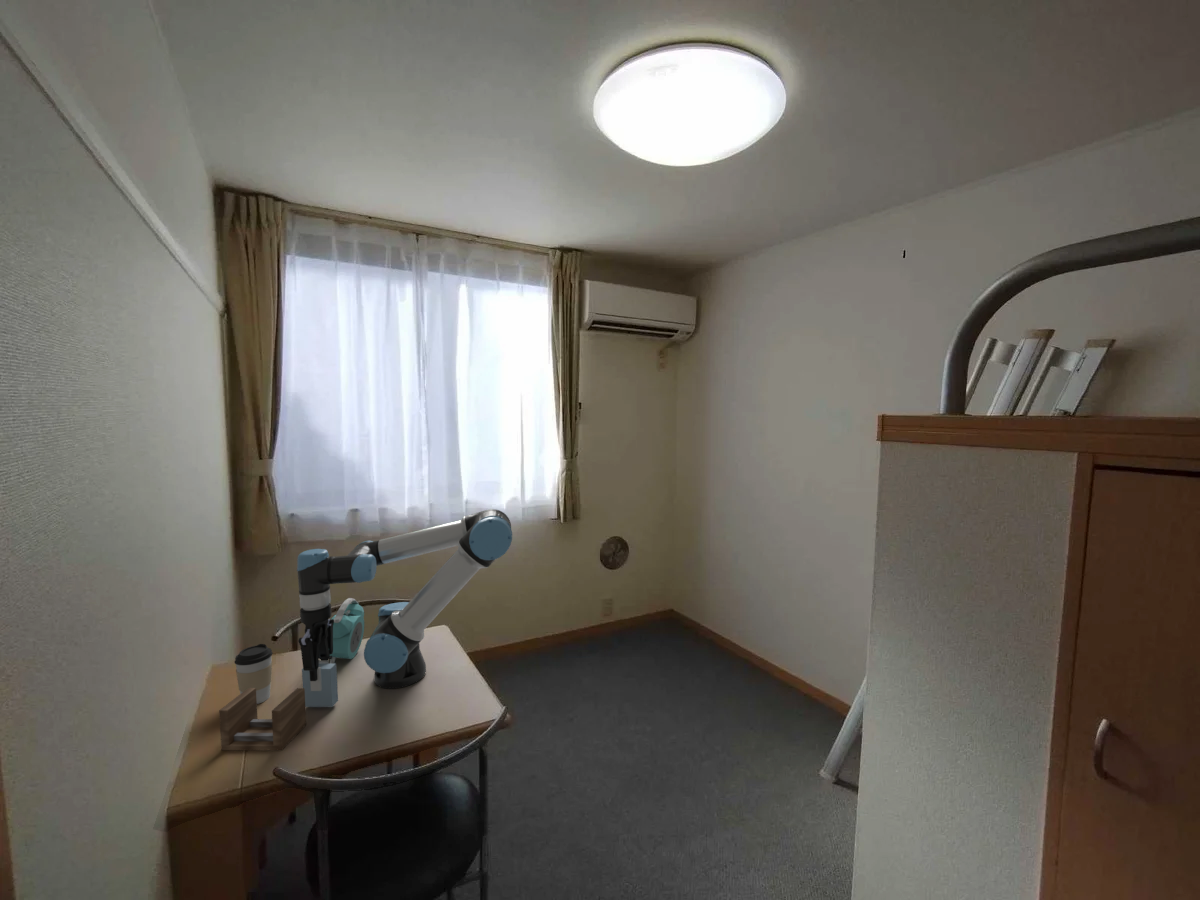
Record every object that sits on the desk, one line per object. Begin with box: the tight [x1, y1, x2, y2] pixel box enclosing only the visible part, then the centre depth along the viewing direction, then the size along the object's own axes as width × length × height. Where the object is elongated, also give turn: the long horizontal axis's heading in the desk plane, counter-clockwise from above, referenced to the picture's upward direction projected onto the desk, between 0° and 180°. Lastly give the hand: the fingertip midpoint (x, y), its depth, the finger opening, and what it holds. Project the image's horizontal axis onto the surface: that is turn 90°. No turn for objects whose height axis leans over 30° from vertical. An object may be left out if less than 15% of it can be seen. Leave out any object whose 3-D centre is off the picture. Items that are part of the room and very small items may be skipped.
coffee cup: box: [233, 643, 274, 705], centre depth 144 cm, size 9×9×15 cm
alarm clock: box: [329, 597, 365, 664], centre depth 168 cm, size 17×10×20 cm, turn 5°
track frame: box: [218, 687, 307, 751], centre depth 127 cm, size 15×10×10 cm, turn 89°
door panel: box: [301, 663, 339, 708], centre depth 140 cm, size 8×3×11 cm, turn 89°
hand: (320, 686), depth 140 cm, fingers closed on door panel, 3 cm apart
